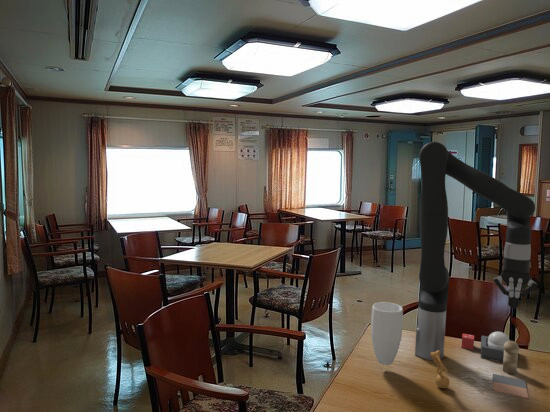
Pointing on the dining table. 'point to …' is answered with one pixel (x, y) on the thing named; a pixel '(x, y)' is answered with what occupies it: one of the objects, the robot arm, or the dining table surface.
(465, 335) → the red die
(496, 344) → the white ball
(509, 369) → the wooden pawn
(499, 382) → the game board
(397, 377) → the dining table surface
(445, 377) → the figurine
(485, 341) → the dark grey square tray
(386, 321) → the cup
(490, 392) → the dining table surface
